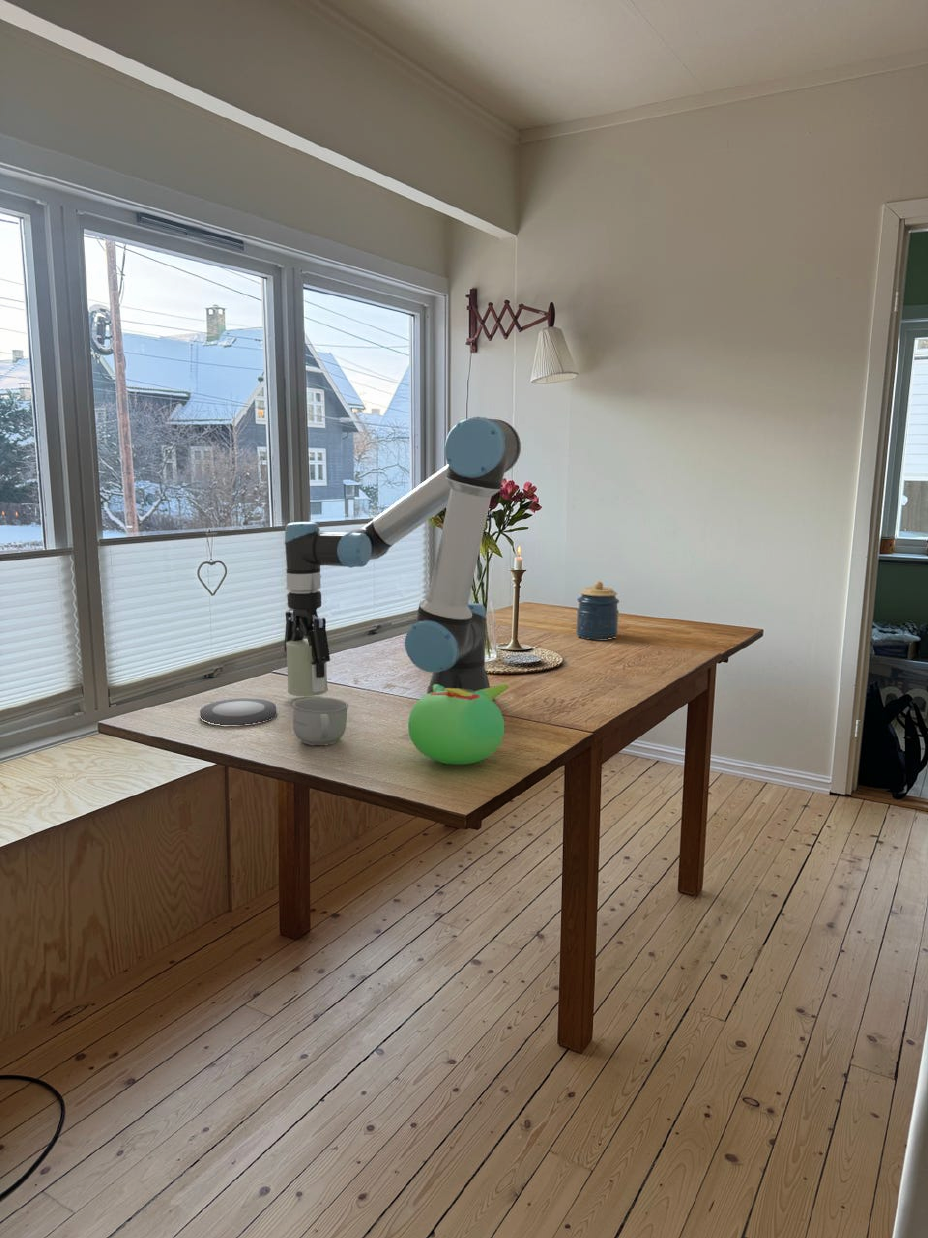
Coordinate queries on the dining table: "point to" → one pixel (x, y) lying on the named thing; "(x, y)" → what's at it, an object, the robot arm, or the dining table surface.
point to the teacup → (319, 720)
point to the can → (301, 669)
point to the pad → (238, 711)
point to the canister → (597, 613)
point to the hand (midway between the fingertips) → (307, 686)
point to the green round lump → (457, 724)
